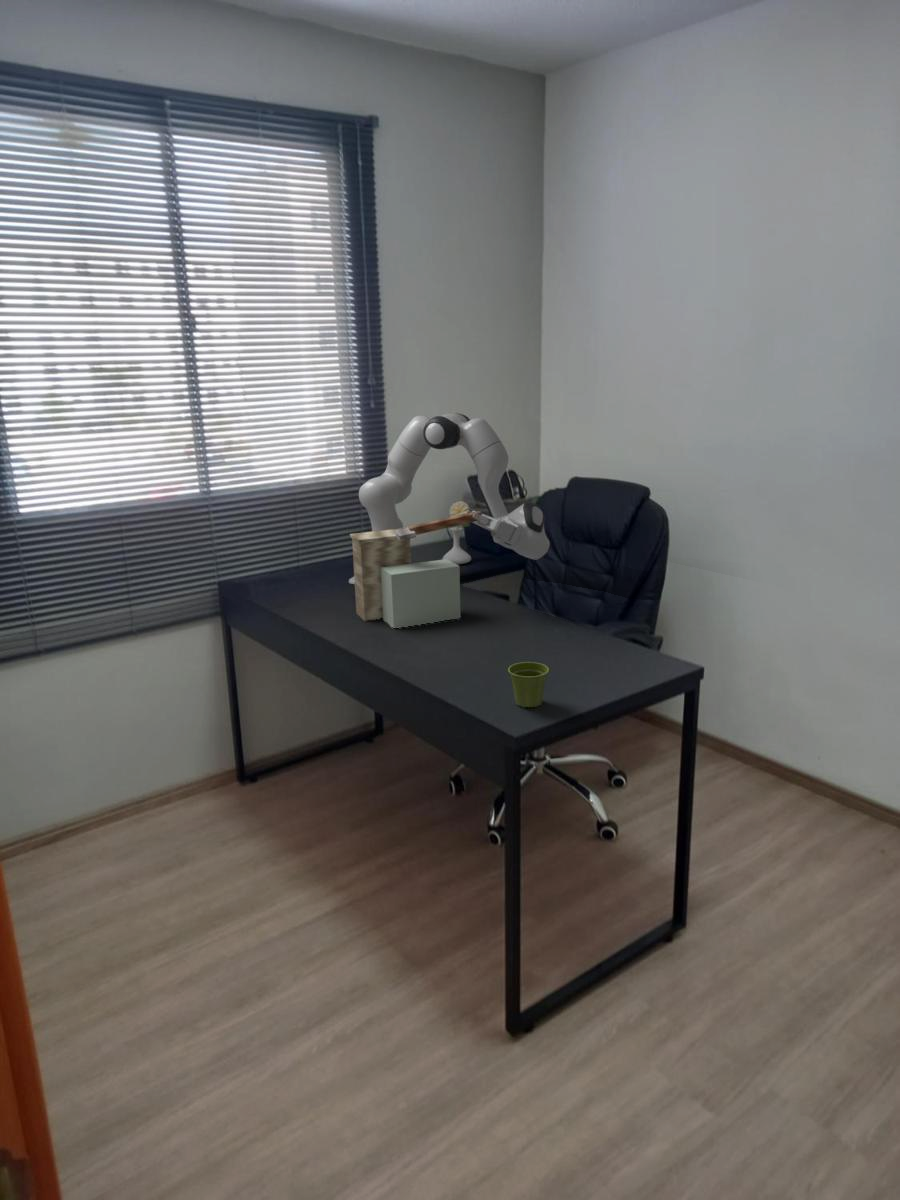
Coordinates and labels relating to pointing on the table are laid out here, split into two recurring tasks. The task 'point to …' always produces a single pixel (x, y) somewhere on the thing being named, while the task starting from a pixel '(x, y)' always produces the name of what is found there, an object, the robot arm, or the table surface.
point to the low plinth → (420, 593)
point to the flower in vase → (456, 552)
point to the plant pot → (528, 682)
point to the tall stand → (375, 567)
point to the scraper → (434, 525)
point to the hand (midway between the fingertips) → (470, 513)
